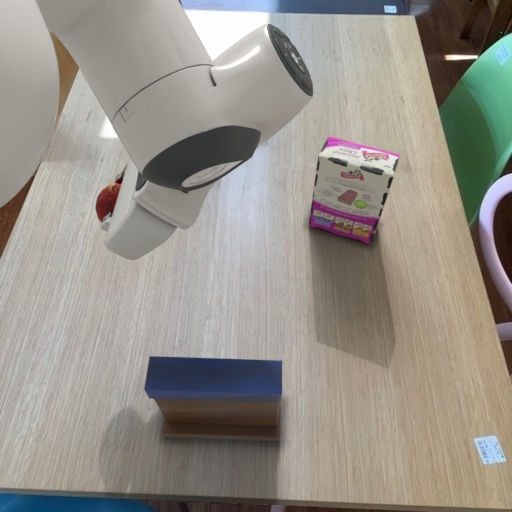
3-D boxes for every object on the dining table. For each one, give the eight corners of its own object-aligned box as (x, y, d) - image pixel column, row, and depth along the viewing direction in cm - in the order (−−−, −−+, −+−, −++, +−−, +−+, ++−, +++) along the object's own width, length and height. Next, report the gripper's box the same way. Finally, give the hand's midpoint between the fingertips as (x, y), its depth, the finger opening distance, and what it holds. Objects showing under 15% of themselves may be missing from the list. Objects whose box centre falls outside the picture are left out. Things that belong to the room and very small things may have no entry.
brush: (279, 441, 62) (287, 401, 48) (164, 437, 62) (137, 396, 48) (279, 402, 64) (286, 354, 50) (169, 399, 65) (145, 349, 51)
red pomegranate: (136, 248, 61) (122, 209, 54) (96, 237, 62) (77, 197, 55) (156, 214, 64) (144, 173, 57) (117, 204, 65) (101, 162, 58)
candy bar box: (378, 224, 82) (402, 153, 68) (371, 246, 79) (395, 177, 65) (315, 205, 84) (327, 133, 70) (306, 226, 81) (317, 155, 68)
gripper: (174, 70, 55) (111, 132, 63) (138, 207, 43) (67, 260, 52) (215, 103, 58) (150, 158, 67) (192, 238, 47) (117, 284, 55)
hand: (113, 204), depth 59 cm, fingers closed on red pomegranate, 6 cm apart
